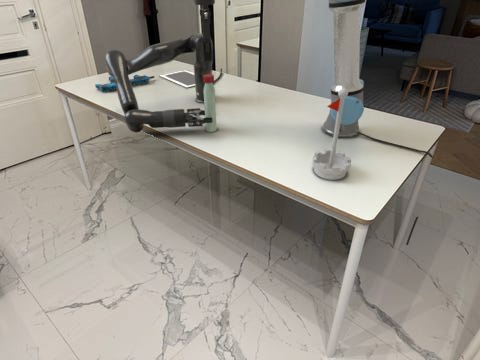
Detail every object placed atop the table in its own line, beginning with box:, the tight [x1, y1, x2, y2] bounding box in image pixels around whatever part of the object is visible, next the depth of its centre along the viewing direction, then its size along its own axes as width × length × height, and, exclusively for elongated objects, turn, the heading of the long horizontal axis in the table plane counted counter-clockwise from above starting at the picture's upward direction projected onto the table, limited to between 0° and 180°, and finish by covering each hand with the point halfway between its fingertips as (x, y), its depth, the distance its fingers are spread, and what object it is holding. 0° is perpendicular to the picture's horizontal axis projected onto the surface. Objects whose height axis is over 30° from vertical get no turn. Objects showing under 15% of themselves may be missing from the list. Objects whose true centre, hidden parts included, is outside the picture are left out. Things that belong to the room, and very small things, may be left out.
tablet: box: [159, 69, 195, 89], centre depth 215 cm, size 32×20×1 cm, turn 41°
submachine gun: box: [94, 74, 155, 92], centre depth 206 cm, size 34×4×25 cm
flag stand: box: [312, 88, 352, 181], centre depth 113 cm, size 13×13×30 cm
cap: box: [203, 73, 215, 84], centre depth 139 cm, size 4×4×2 cm
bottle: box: [203, 83, 218, 133], centre depth 145 cm, size 5×5×24 cm
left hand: (211, 116), depth 147 cm, fingers open, 8 cm apart
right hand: (207, 58), depth 134 cm, fingers open, 6 cm apart
